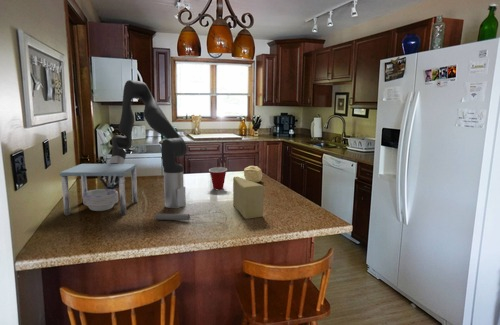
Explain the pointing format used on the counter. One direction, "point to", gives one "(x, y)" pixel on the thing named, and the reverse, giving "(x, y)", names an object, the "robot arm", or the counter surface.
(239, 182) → the beige rectangular block
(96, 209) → the paper bowls
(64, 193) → the small side table
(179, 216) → the kitchen whisk
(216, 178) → the plastic cup
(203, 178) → the counter surface
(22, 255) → the counter surface
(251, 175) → the beige textured ball
